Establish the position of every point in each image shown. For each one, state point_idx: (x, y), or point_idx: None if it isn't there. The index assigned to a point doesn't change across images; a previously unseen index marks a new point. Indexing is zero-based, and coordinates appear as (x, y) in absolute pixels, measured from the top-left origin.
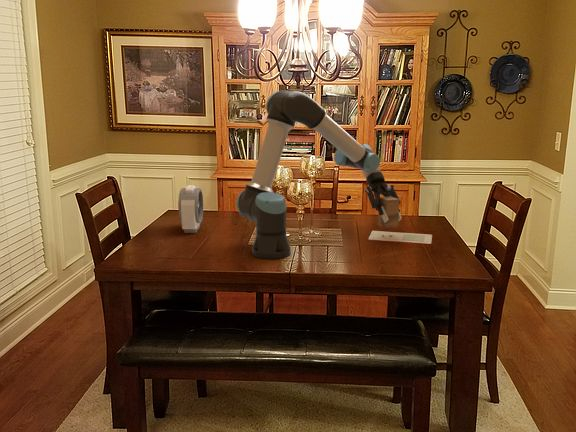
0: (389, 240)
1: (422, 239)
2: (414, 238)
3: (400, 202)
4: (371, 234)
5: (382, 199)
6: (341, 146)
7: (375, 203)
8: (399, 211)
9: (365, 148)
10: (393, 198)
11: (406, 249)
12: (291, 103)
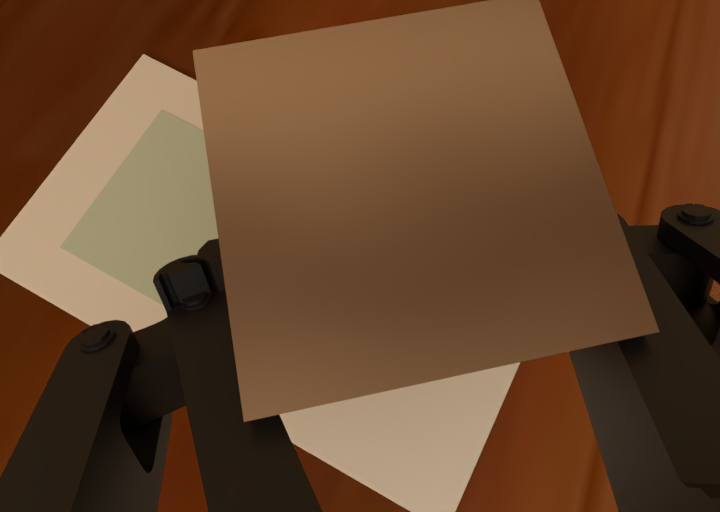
0: None
1: (145, 152)
2: (190, 191)
3: (80, 336)
4: (492, 400)
5: (594, 199)
6: None
7: (710, 225)
8: (218, 241)
9: None
10: (304, 153)
11: (357, 22)
12: None
